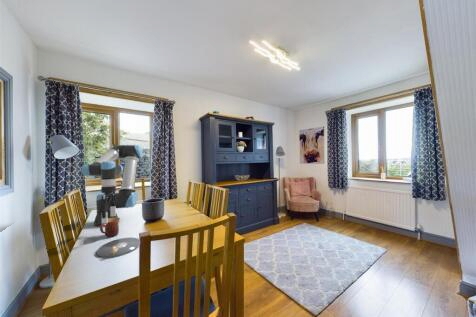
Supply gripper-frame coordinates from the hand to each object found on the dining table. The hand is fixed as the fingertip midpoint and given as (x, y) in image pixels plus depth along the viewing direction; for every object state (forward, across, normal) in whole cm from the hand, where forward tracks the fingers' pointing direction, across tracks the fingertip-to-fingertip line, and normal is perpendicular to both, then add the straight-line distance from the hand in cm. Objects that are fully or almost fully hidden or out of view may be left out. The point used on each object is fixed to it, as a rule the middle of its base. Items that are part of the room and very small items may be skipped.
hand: (109, 219), depth 116 cm
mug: (+11, -1, 0) cm, 11 cm away
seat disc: (+11, +17, +11) cm, 23 cm away
